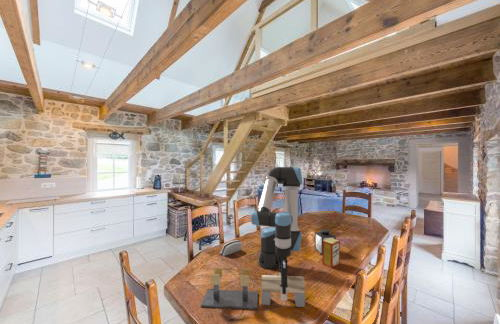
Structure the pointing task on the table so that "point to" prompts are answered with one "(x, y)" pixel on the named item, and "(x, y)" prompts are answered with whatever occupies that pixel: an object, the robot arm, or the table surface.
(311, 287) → the table surface
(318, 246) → the lantern
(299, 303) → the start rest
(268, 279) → the beige long block
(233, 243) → the grey curved block
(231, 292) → the bracket stand
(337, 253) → the baking soda box
